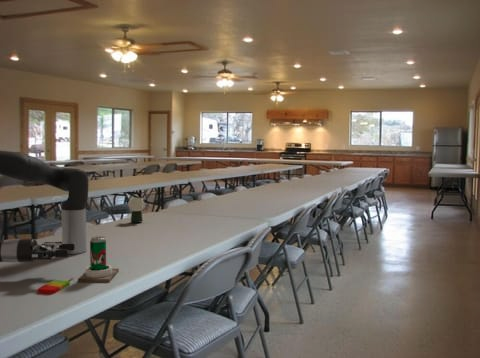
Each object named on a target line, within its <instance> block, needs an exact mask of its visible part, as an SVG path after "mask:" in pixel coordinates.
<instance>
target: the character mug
mask: <svg viewBox="0 0 480 358" xmlns="http://www.w3.org/2000/svg"><path fill="white" fill-rule="evenodd" d="M127 207H128V208H129V211H130V212H131V211H132V212H131V216H130V217H131V218H130V222H131V223H142V222H143V221H144V220H143V213H142V211H144V210H145V209H146V202H144V198H142V197H131V198H129V201H128V202H127Z"/></svg>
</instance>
